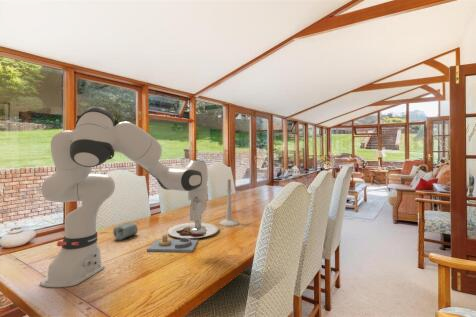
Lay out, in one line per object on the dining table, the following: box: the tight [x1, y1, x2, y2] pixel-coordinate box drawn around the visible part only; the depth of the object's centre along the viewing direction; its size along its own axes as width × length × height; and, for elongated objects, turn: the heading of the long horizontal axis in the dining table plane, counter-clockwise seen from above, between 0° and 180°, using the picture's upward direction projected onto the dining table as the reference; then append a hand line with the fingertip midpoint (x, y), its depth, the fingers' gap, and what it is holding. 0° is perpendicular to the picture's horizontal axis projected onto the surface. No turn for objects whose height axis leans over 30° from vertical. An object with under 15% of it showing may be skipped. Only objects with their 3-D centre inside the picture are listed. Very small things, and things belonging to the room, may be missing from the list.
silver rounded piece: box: [190, 217, 206, 234], centre depth 121 cm, size 7×7×6 cm
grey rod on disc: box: [219, 178, 240, 227], centre depth 174 cm, size 13×13×30 cm
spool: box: [112, 221, 138, 241], centre depth 147 cm, size 14×10×10 cm
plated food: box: [167, 222, 219, 240], centre depth 157 cm, size 30×30×3 cm
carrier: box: [146, 233, 199, 253], centre depth 133 cm, size 14×22×6 cm, turn 88°
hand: (198, 225), depth 121 cm, fingers closed on silver rounded piece, 3 cm apart
